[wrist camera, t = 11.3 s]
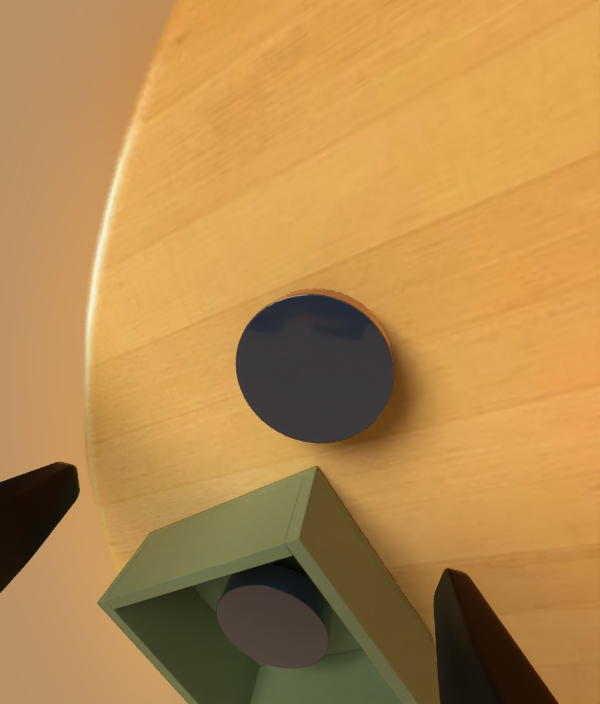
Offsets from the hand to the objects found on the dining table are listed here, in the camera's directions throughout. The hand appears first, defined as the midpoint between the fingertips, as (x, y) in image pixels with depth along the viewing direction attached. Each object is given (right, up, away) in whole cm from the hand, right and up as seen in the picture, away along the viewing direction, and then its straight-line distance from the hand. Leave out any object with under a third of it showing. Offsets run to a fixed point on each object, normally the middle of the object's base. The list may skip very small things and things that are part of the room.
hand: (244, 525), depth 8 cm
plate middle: (+2, +4, +9) cm, 10 cm away
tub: (0, -12, +15) cm, 20 cm away
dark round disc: (0, -12, +15) cm, 19 cm away
